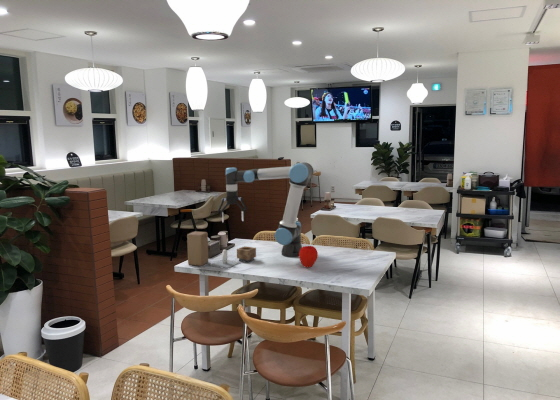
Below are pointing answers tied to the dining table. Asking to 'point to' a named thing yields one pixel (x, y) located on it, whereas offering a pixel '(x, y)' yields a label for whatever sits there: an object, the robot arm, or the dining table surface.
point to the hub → (224, 261)
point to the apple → (308, 256)
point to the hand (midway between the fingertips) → (232, 221)
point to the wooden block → (197, 248)
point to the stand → (246, 260)
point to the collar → (246, 253)
